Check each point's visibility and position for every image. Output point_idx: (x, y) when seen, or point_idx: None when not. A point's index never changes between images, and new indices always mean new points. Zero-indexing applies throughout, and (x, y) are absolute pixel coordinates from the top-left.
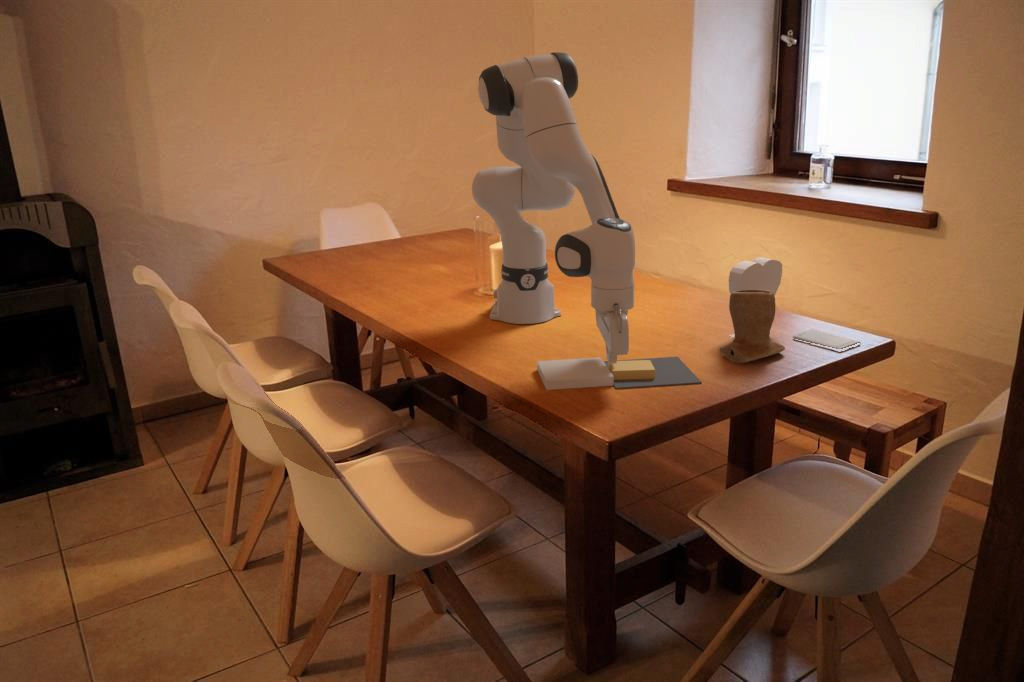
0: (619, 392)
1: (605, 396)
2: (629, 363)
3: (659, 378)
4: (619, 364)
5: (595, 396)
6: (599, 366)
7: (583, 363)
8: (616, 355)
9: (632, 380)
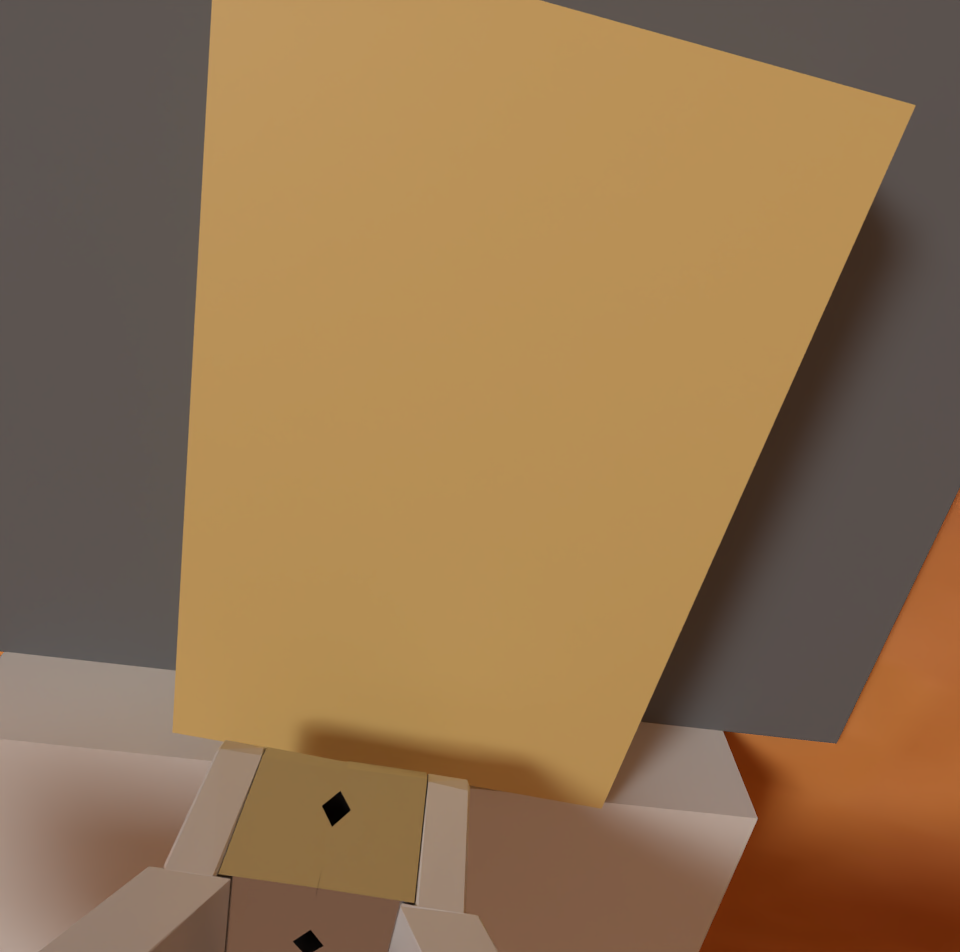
0: (931, 726)
1: (941, 856)
2: (352, 478)
3: (848, 14)
4: (364, 643)
5: (886, 916)
6: None
7: None
8: (472, 924)
9: None
